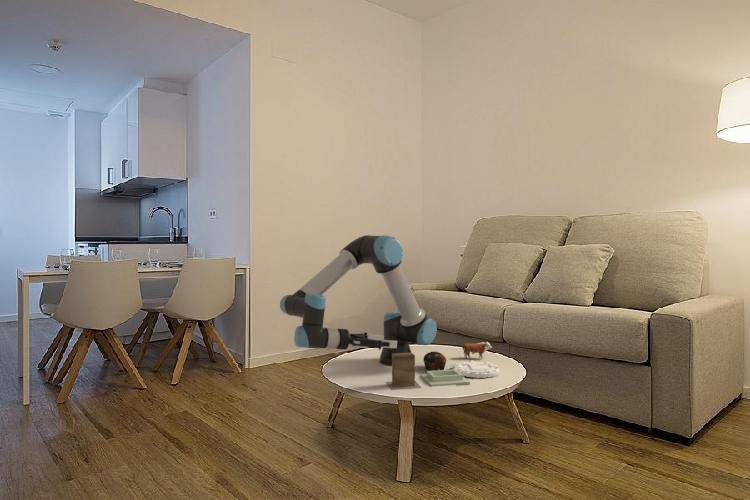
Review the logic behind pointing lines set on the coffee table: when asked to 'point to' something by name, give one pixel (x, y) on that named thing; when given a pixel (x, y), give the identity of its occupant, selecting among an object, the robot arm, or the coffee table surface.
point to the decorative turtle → (434, 361)
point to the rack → (444, 378)
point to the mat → (403, 387)
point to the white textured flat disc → (477, 369)
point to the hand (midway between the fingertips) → (389, 341)
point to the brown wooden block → (403, 369)
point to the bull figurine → (475, 349)
